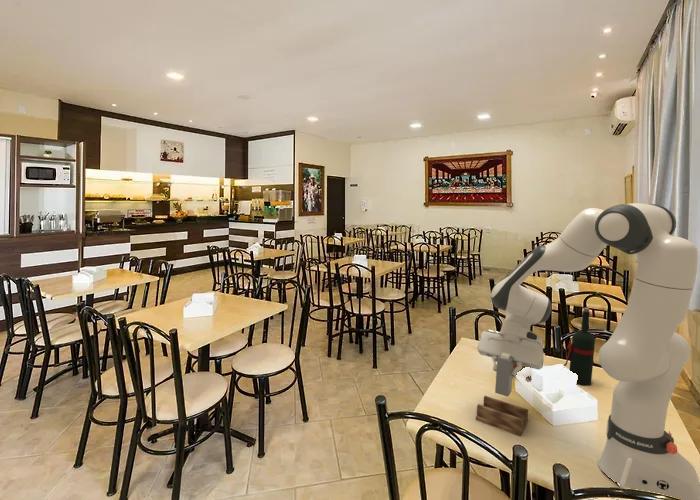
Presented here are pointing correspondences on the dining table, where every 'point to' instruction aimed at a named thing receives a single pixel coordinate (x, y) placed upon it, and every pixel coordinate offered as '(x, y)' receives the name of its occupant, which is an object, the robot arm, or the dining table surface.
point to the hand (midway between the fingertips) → (504, 373)
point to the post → (504, 374)
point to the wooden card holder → (502, 415)
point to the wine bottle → (582, 352)
